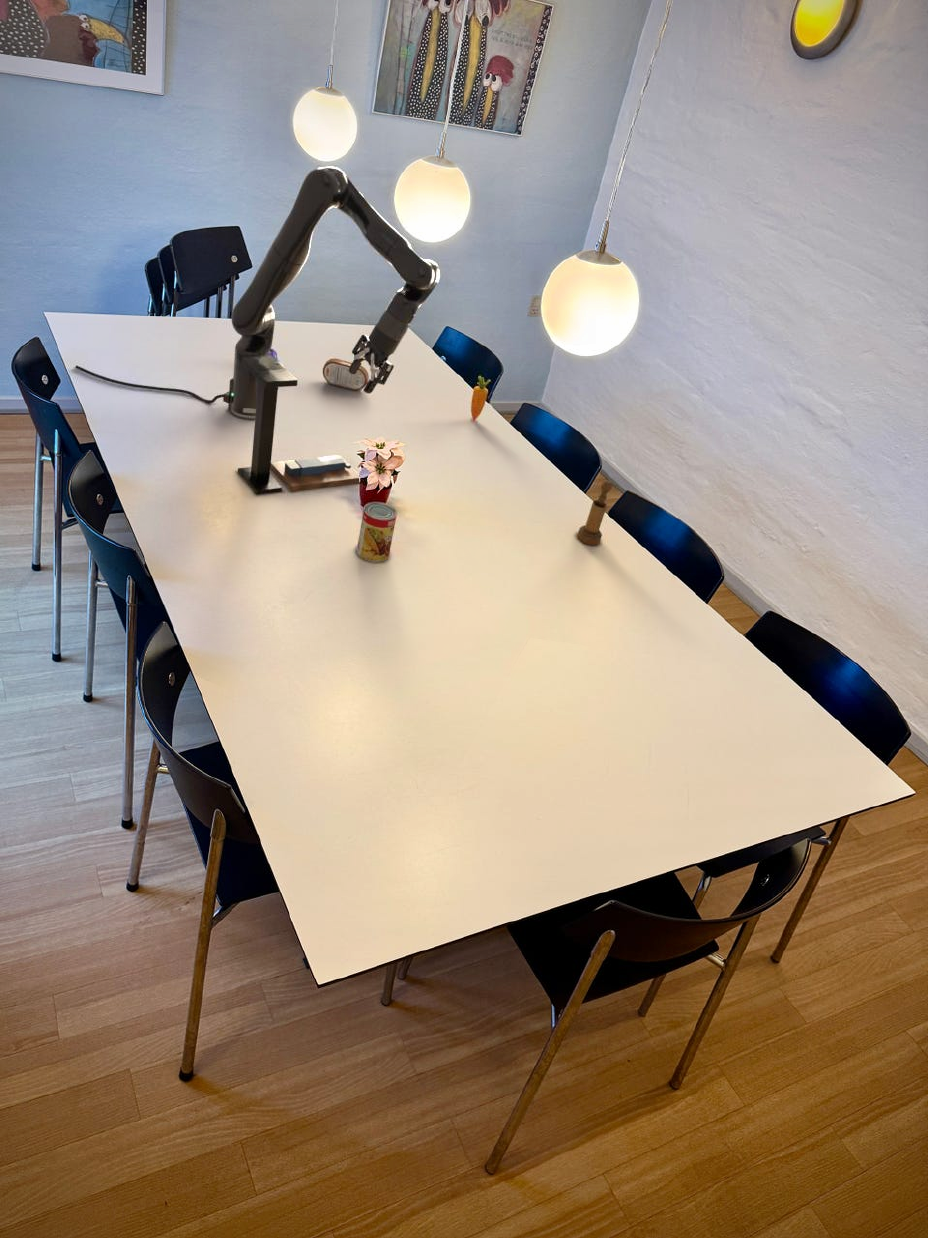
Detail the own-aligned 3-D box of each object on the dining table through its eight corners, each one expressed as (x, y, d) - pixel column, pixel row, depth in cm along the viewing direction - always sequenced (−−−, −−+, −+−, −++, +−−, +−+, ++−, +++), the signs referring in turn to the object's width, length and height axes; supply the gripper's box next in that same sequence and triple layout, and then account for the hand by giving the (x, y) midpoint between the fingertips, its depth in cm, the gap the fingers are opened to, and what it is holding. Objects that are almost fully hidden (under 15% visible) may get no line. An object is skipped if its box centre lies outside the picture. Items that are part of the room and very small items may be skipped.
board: (338, 460, 249) (339, 455, 248) (361, 482, 241) (362, 477, 241) (270, 467, 237) (270, 462, 236) (291, 491, 230) (292, 486, 229)
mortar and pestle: (575, 530, 245) (594, 473, 235) (597, 534, 247) (617, 477, 236) (579, 543, 240) (598, 485, 230) (601, 547, 241) (622, 489, 231)
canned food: (391, 562, 213) (400, 520, 206) (359, 561, 210) (367, 518, 203) (385, 544, 219) (393, 502, 212) (354, 543, 216) (361, 501, 209)
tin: (367, 390, 292) (370, 366, 287) (365, 394, 290) (368, 369, 285) (322, 379, 292) (325, 355, 287) (320, 382, 289) (323, 358, 284)
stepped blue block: (342, 462, 245) (343, 454, 243) (350, 470, 242) (351, 461, 241) (283, 469, 235) (284, 461, 233) (291, 477, 232) (292, 469, 231)
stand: (262, 467, 236) (272, 356, 219) (285, 493, 228) (297, 380, 210) (234, 470, 232) (241, 357, 214) (256, 497, 224) (266, 381, 206)
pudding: (272, 357, 298) (273, 342, 295) (291, 371, 291) (293, 356, 288) (240, 360, 290) (241, 344, 287) (259, 375, 284) (261, 359, 281)
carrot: (483, 420, 293) (494, 377, 284) (477, 424, 289) (487, 381, 281) (470, 415, 294) (480, 372, 286) (464, 419, 290) (474, 376, 282)
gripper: (365, 311, 228) (335, 364, 235) (392, 343, 221) (361, 396, 229) (386, 319, 233) (356, 370, 241) (413, 350, 227) (382, 401, 234)
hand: (358, 382), depth 235 cm, fingers open, 8 cm apart
